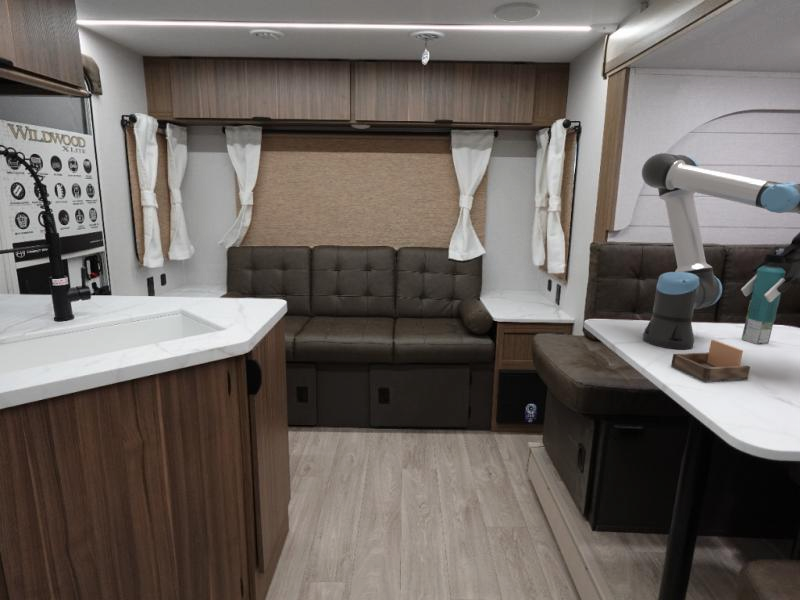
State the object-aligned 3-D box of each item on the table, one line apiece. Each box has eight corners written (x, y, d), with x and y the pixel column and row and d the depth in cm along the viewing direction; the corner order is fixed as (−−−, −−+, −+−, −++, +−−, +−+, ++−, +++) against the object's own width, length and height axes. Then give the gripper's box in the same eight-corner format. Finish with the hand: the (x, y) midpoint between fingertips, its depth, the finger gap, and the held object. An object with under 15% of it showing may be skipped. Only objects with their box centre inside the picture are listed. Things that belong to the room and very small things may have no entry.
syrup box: (752, 338, 174) (761, 299, 170) (769, 343, 168) (778, 303, 165) (741, 339, 172) (749, 299, 169) (757, 344, 166) (766, 303, 163)
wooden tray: (710, 364, 144) (713, 352, 144) (747, 379, 133) (750, 366, 132) (671, 366, 141) (673, 353, 140) (704, 382, 130) (707, 369, 129)
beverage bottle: (777, 329, 133) (794, 256, 129) (749, 325, 135) (764, 254, 131) (769, 323, 139) (785, 253, 135) (742, 320, 141) (757, 251, 137)
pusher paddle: (709, 362, 142) (714, 339, 141) (738, 374, 134) (743, 350, 132) (706, 362, 142) (711, 339, 141) (735, 374, 133) (740, 350, 132)
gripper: (859, 252, 127) (795, 313, 127) (786, 243, 145) (730, 297, 145) (848, 231, 124) (784, 294, 124) (776, 224, 143) (719, 279, 143)
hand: (755, 295), depth 135 cm, fingers closed on beverage bottle, 6 cm apart
